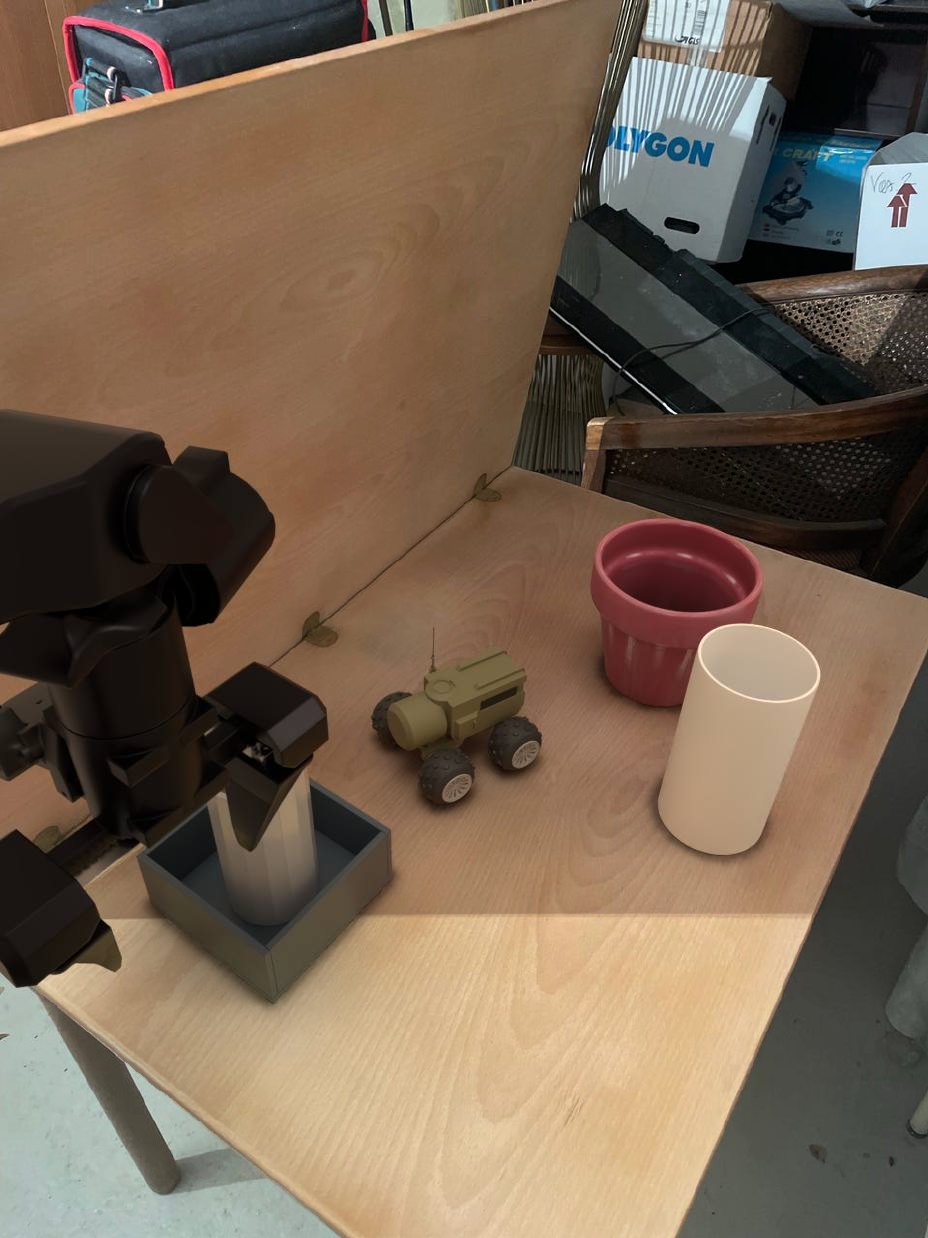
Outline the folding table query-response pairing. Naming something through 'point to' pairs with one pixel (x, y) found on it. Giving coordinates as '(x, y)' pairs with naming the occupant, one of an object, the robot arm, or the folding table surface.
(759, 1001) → the folding table surface
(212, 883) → the open box
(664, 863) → the folding table surface
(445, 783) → the toy vehicle
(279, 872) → the tumbler
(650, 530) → the flower pot
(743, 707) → the cup
